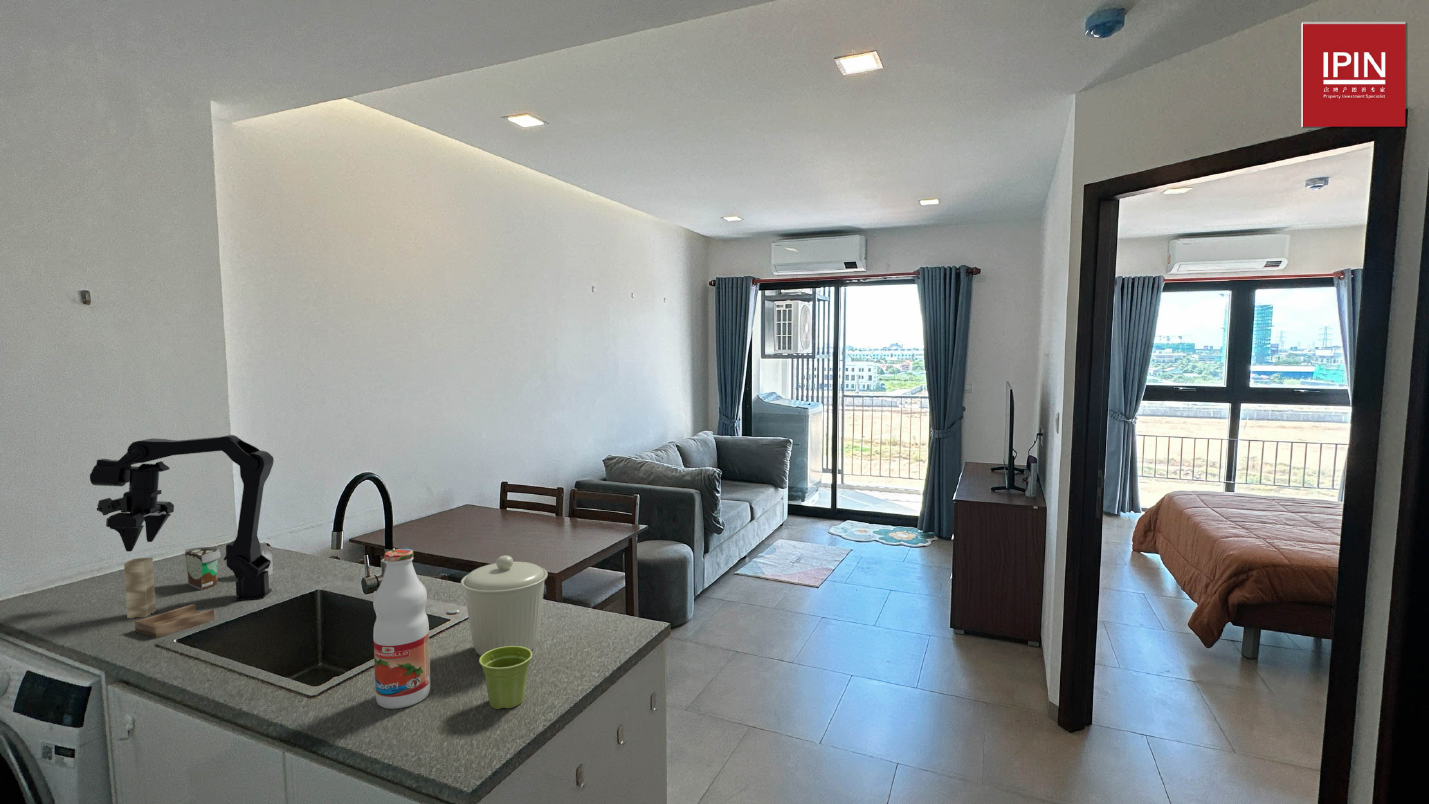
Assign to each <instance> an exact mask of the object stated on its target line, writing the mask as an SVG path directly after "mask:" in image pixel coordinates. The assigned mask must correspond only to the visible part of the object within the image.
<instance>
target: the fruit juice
mask: <svg viewBox="0 0 1429 804" xmlns="http://www.w3.org/2000/svg"><path fill="white" fill-rule="evenodd" d="M414 555H415V554H414V551H413V549H412V548H411V549H410V548H395V549H392V550H388V551H386V552H385V553H384V556H383V560H384V563H385V564H386V567H385V569H384V570H385V571H384V573H383V577H382V580H381V583H380V584H379V586H378V588H377V589H376V592H375V593H374V595H373V599H372V600H373V601H372V602H373V603H372V604H373V610H374V613H375V615H376V619H375V622H374V625H373V637H372V638H373V653H374V655H373V657H374V659H373V661H374V683H375V684H374V686H375V690H374V691H375V701H376V703H377V705H378V706H380V707H381V708H383V709H384V708H385V709H388V710H389V709H391V710H392V709H393V710H394V709H402V708H406V707H407V708H408V707H410V706H413V705H417V704H418V703H420V702H422V701H423V700H425V699H426V698H427V697H428V696H429V694H430V692H431V661H430V660H431V658H430V657H431V656H430V654H431V653H430V627H429V618H428V615H427V613H426V610H425V608H426V603H427V600H428V595H427V588H426V587H425V585H424V584H423V583H422V582H421V580H420V579H419V577H418V576H417V573H416V570H415V567H414V565H413V560H414Z"/></svg>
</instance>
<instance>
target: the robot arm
mask: <svg viewBox="0 0 1429 804" xmlns="http://www.w3.org/2000/svg"><path fill="white" fill-rule="evenodd" d="M220 451H221V452H223V453H225V454H226V456H227V457H228V458H230V460H231V461H232V462H234V463H235V464H236V465H238V466H239V476H240V479H241V482H242V484H243V488H242V497H241V502H240V510H239V517H238V518H239V519H238V525H237V530H236V531H237V533H236V537H235V539H234V540H233V541H232V540H231V542H229V543H227V544H226V545H225V556H224V558H223V561H226V562H225V564H226V567H227V568H228V569H230V571H232V572H233V574H234V576H235V578H236V581H235V594H236V598H235V601H245V600H259V599H263V598H265V597H267V595H269V594H270V593H271V592H272V590H273V589H272V588H270V581H269V580H270V576H269V575H268V571H265V570H266V569H268V568H269V566H270V563H271V561H270V560H269V559H267V558H266V557H265V556H263V555H262V554H261V550H260V543H261V542H260V540H259V537H258V531H259V523H260V516H261V508H262V500H263V493H264V485H265V484H266V482H267V479H268V478H269V476H270V474H271V472H272V469H273V466H274V457H273V455H271V453H270V452H268V451H266V450H261V449H260V448H258V447H256V446H254V445H253V444H251V443H248V442H246V441H244V440H242V439H241V438H239V437H238V436H236V435H234V434H228V435H224V436H214V437H204V438H191V439H190V438H189V439H181V440H178V439H177V440H174V439H168V438H167V439H166V438H155V437H154V438H153V437H152V438H146V439H141V440H137V441H133V442H131V443H130V444H129V445H128V447H127V451H126V453H125V454H124V455H123V456H122V457H120V459H116V460H115V459H108V458H99V459H97V460H96V464H95V465H94V466H93V468H92V469H91V473H90V474H89V481H90V483H91V485H93V486H101V487H102V486H104V487H124V486H125V485H126V484H127V483H128V491H125V492H124V493H123V494H122V497H119V498H114V499H113V498H111V497H107V498H103V499H100V500H98V504H97V508H96V511H98V512H99V513H102V516H108V515H109V514H112V513H115V512H117V513H115V514H112V515H110V516H109V517H107V518H106V521H105V522H106V523H105V527H106V528H109V529H110V530H114V531H116V532H117V533H118V534H119V536H120V538H121V541H122V544H123V546H124V549H125V552H133V551H134V549H135V546H136V543H137V542H138V539H139V537H140V536H141V533H142V531H143V528H144V526H145V536H146V542H147V543H152V542H154V540H155V538H156V537H157V535H158V534H159V533H160V530H161V529H162V527H163V526H164V524H165V523H166V521H167V520H168V518H169V517H171V513H174V512H175V504H174V503H172V502H171V501H160V500H159V501H158V496H159V495H162V489H159V479H160V472H166V471H169V470H170V469H171V468H170V466H168V465H166V464H165V463H164V462H163V461H157V462H155V463H148V462H151V461H156V460H160V459H164V458H168V457H171V456H178V455H179V456H181V455H191V454H200V453H202V454H203V453H211V452H212V453H213V452H220ZM140 463H141V464H140ZM137 464H140V465H139V466H135V465H137ZM133 465H134V466H133ZM143 523H144V524H145V525H143Z"/></svg>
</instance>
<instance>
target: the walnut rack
mask: <svg viewBox="0 0 1429 804" xmlns="http://www.w3.org/2000/svg"><path fill="white" fill-rule="evenodd" d="M212 621H215V609H212V608H210V609H207V610H204V611H197V610H196V604H189V605H186V606H183V607H179V608H176V609H172V610H169V611H165V612H162V613H159V614H155V615H152V616H147V617H144V618H141V619H138V620H135V622H134V630H135V631H136V633H138V634H142V635H144V636H148V637H152V638H154V639H159V638H162V637H165V636H167V635H171V634H174V633H177V631H178V632H180V631H183V629H184V630H186V629H190V628H193V627H196V626H199V625H202V624H206V623H208V622H212Z"/></svg>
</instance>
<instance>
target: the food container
mask: <svg viewBox="0 0 1429 804" xmlns="http://www.w3.org/2000/svg"><path fill="white" fill-rule="evenodd" d="M221 556H222V555H221V552H220V550H219V548H218V547H214V546H201V547H193V548H186V549H185V551H184V557H185V560H186V561H185V564H186V575H187V582H188V585H189V584H190V585H189V586H192V587H194V588H196V589H198V590H201V591H204V590H208V589H210V588H213V587H215V586H216V585H217V584H218V568H219V566H218V563H219V558H221Z"/></svg>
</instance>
